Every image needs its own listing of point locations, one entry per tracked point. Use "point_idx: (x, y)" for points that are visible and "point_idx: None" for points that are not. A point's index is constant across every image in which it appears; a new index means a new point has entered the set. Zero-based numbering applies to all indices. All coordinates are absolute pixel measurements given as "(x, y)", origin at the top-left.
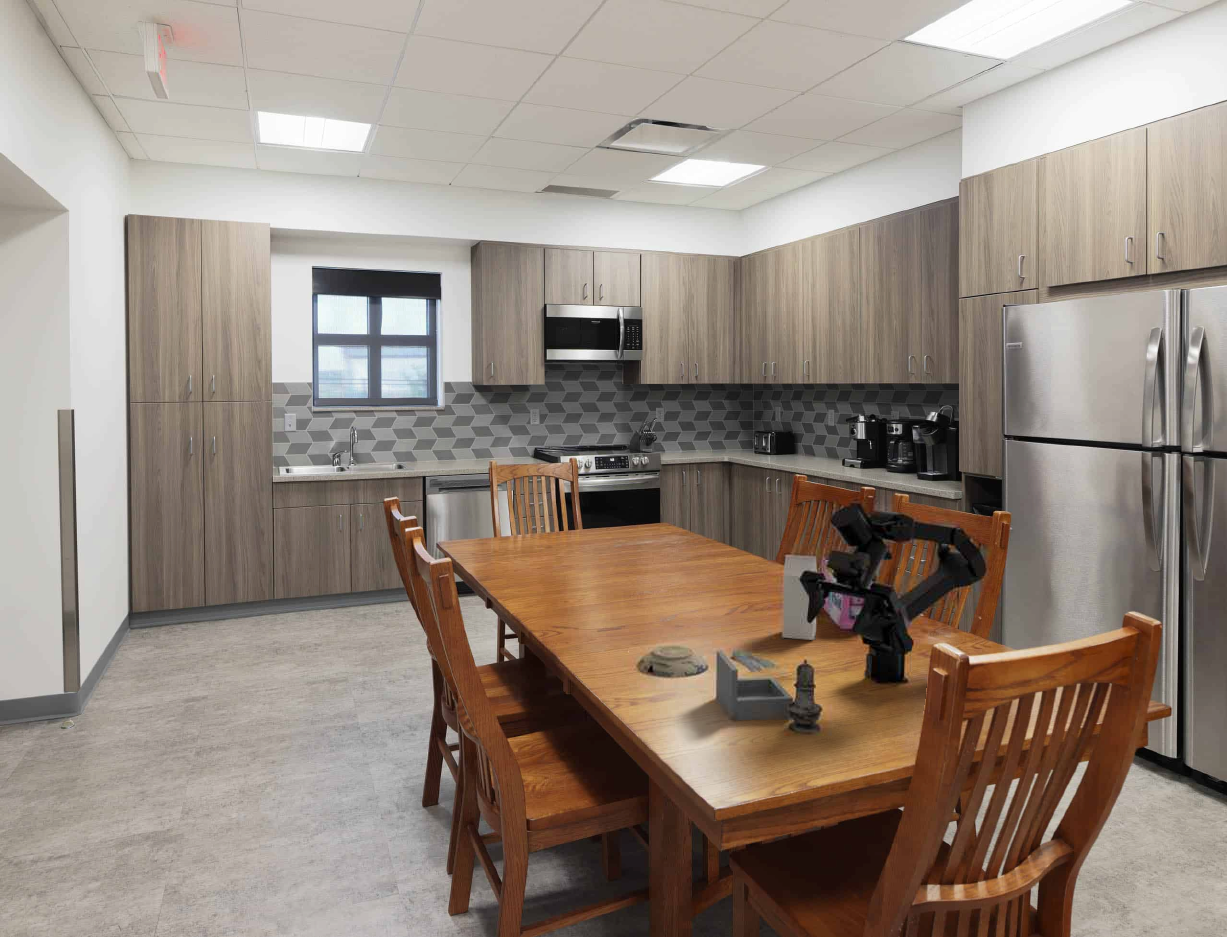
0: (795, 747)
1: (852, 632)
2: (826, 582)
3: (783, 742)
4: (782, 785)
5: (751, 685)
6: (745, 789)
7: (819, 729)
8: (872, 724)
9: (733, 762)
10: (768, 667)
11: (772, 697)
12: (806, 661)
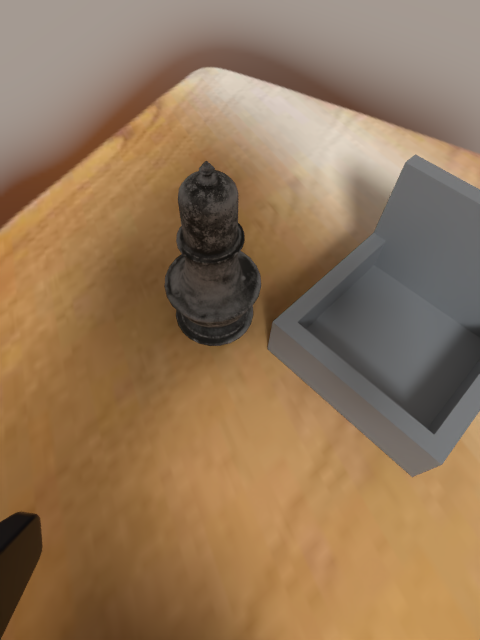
0: None
1: (38, 533)
2: None
3: None
4: (154, 122)
5: (459, 395)
6: (194, 97)
7: (176, 315)
8: (57, 436)
9: (252, 139)
10: None
11: (321, 295)
12: (201, 166)
